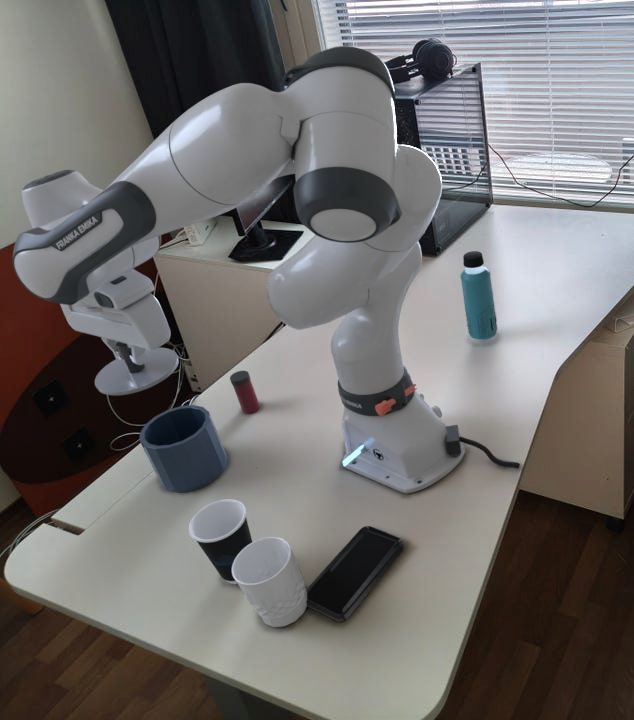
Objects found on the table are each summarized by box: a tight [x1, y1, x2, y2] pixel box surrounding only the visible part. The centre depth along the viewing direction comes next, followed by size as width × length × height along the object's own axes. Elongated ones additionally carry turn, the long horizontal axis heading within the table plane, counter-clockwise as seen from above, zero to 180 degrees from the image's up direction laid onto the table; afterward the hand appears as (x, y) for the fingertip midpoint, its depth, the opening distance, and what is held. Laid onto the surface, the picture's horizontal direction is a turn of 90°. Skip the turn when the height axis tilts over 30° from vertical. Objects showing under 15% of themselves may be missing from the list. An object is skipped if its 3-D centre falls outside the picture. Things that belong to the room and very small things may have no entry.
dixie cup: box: [188, 499, 253, 585], centre depth 100 cm, size 8×8×11 cm
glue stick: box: [229, 370, 261, 415], centre depth 136 cm, size 4×4×8 cm
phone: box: [306, 525, 405, 623], centre depth 100 cm, size 8×1×15 cm
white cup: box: [232, 536, 307, 628], centre depth 94 cm, size 8×8×10 cm
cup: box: [139, 404, 228, 493], centre depth 121 cm, size 12×12×10 cm
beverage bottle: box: [460, 250, 498, 341], centre depth 145 cm, size 6×7×20 cm
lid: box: [94, 342, 180, 396], centre depth 109 cm, size 13×13×6 cm
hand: (132, 360), depth 109 cm, fingers closed on lid, 2 cm apart
